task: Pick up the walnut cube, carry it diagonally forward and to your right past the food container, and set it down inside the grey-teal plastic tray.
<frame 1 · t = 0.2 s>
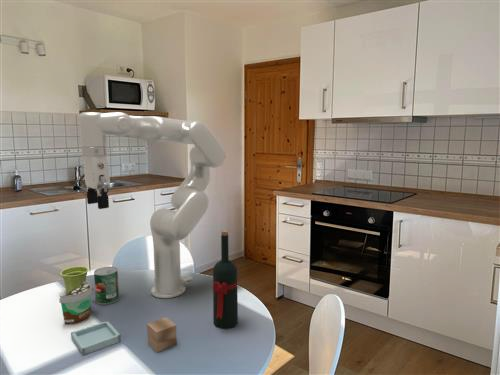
hand: (97, 205, 122), 36 cm above the table, tool pointing down, fingers open, 9 cm apart
food container: (82, 318, 124), on the table
plant pot: (76, 293, 143), on the table
tray: (96, 340, 111), on the table
cube: (162, 343, 110), on the table
canned tomato: (107, 300, 137), on the table
wine bottle: (224, 324, 120), on the table
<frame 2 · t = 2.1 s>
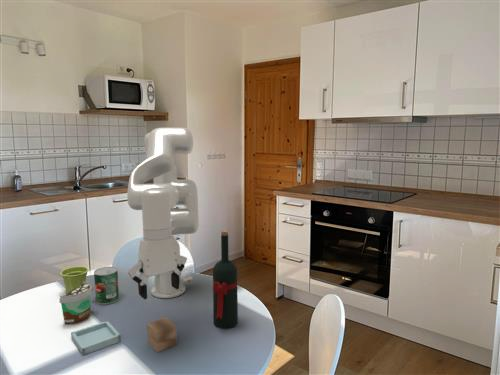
hand: (159, 292, 107), 16 cm above the table, tool pointing down, fingers open, 9 cm apart
nothing on the table moved.
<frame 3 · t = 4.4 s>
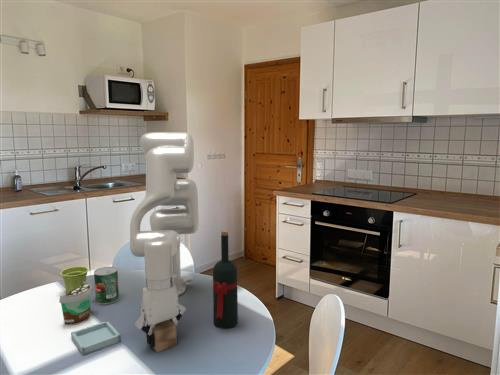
hand: (162, 340, 110), 1 cm above the table, tool pointing down, fingers closed on cube, 6 cm apart
cube: (162, 343, 110), on the table, touching gripper
everything else where it was.
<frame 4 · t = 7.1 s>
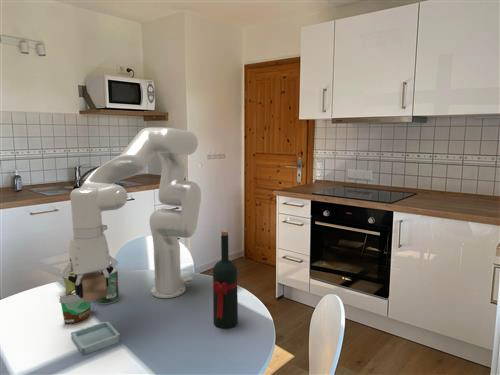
hand: (92, 292, 109), 15 cm above the table, tool pointing down, fingers closed on cube, 6 cm apart
cube: (92, 295, 109), point 14 cm above the table, touching gripper
everything else where it was.
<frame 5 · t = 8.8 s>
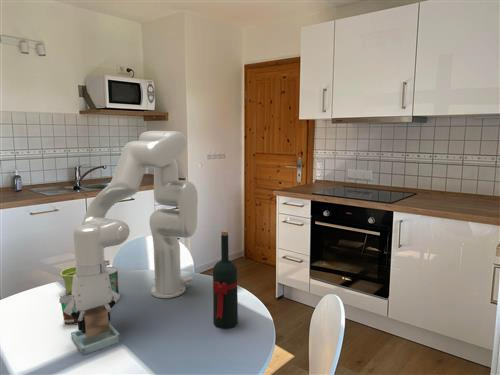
hand: (94, 327, 111), 4 cm above the table, tool pointing down, fingers closed on cube, 6 cm apart
cube: (94, 330, 111), point 3 cm above the table, touching gripper
everything else where it was.
when the fingers open (3 cm above the table, at t = 10.0 s): cube drops 2 cm, resting on tray.
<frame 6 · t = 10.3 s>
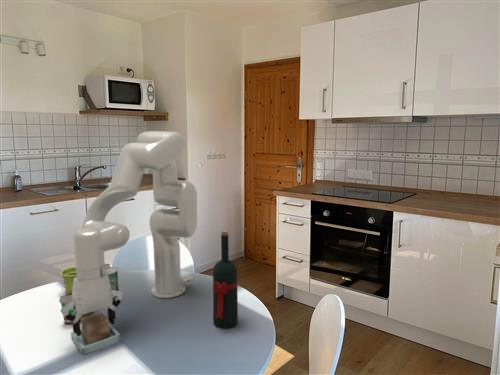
hand: (95, 327, 111), 4 cm above the table, tool pointing down, fingers open, 9 cm apart
cube: (96, 338, 111), point 1 cm above the table, touching tray
everything else where it was.
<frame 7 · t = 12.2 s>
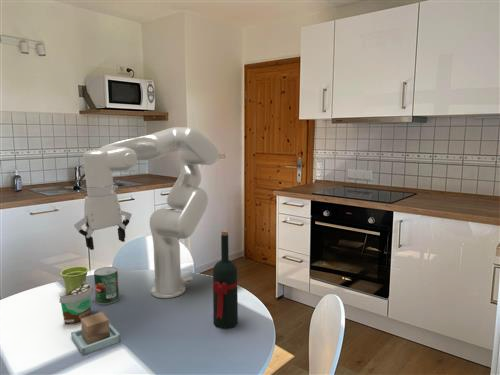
hand: (106, 244, 119), 25 cm above the table, tool pointing down, fingers open, 9 cm apart
nothing on the table moved.
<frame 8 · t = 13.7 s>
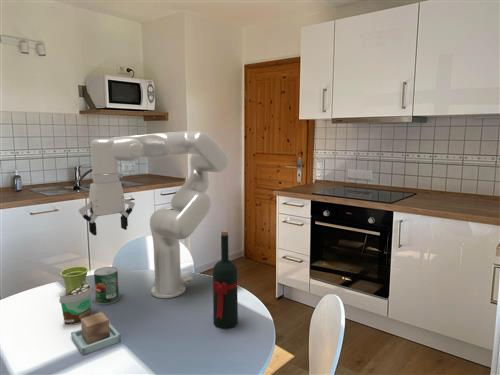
hand: (109, 231, 122), 28 cm above the table, tool pointing down, fingers open, 9 cm apart
nothing on the table moved.
at the end: cube inside the target area on the tray (0.0 cm from its centre), point 0.6 cm above the tray's base; cube tilted 0°; the gripper is holding nothing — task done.
